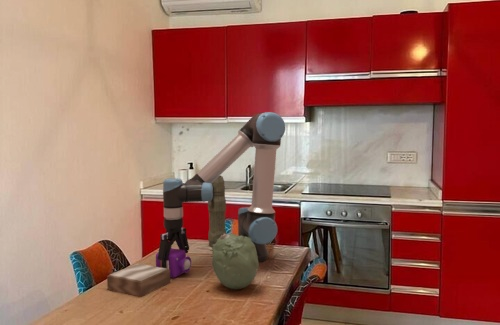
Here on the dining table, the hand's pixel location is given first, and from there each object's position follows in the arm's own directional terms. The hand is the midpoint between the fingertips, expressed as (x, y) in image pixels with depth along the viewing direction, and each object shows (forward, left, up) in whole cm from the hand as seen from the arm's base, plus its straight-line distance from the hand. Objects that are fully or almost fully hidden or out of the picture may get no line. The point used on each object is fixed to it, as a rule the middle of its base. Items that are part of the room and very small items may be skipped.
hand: (174, 272), depth 174 cm
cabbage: (-29, +2, -1) cm, 29 cm away
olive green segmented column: (+8, -45, -1) cm, 46 cm away
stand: (+4, +16, -1) cm, 16 cm away
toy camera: (0, 0, -1) cm, 1 cm away
